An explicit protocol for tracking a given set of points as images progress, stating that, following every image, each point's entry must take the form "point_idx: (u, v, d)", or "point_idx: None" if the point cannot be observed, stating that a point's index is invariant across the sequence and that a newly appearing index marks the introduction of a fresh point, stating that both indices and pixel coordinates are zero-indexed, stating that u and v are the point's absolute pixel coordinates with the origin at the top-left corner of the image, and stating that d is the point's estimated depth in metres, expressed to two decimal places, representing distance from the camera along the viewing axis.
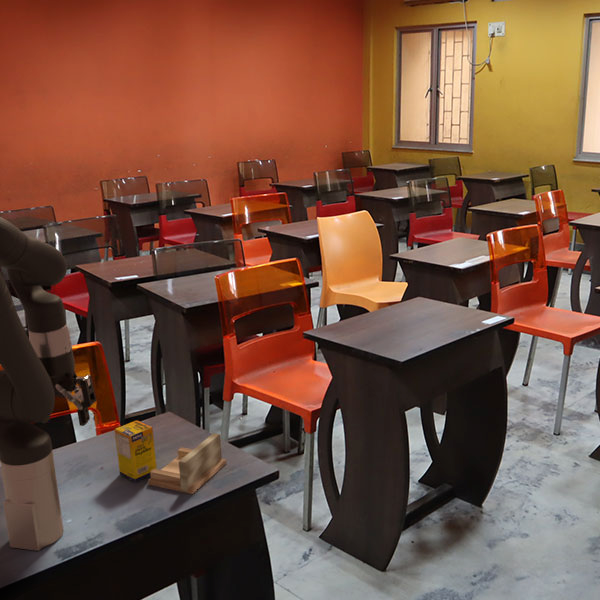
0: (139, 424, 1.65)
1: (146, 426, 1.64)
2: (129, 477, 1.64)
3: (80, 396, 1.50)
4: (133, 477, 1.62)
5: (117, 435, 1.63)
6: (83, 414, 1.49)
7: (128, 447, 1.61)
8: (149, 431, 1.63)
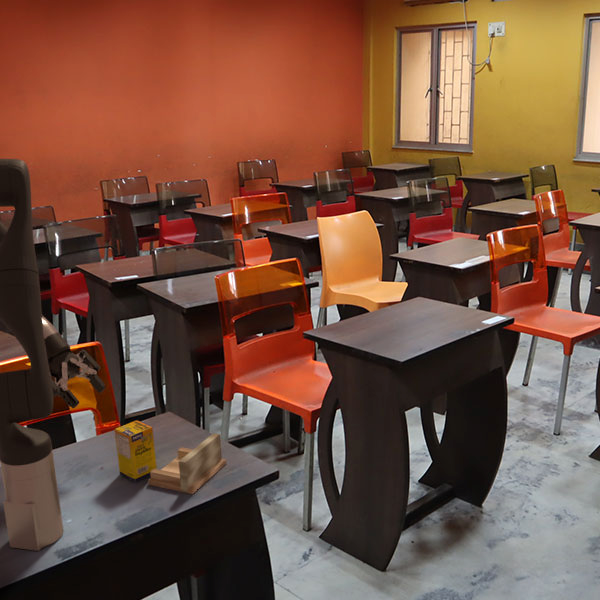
0: (139, 424, 1.65)
1: (146, 426, 1.64)
2: (129, 477, 1.64)
3: (84, 373, 1.71)
4: (133, 477, 1.62)
5: (117, 435, 1.63)
6: (99, 379, 1.71)
7: (128, 447, 1.61)
8: (149, 431, 1.63)
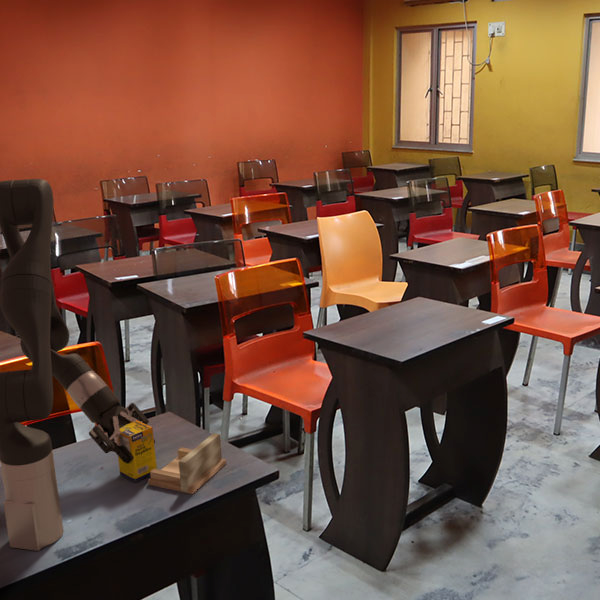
0: (139, 424, 1.65)
1: (146, 425, 1.64)
2: (129, 477, 1.64)
3: None
4: (133, 477, 1.62)
5: None
6: None
7: (128, 447, 1.61)
8: (149, 431, 1.63)
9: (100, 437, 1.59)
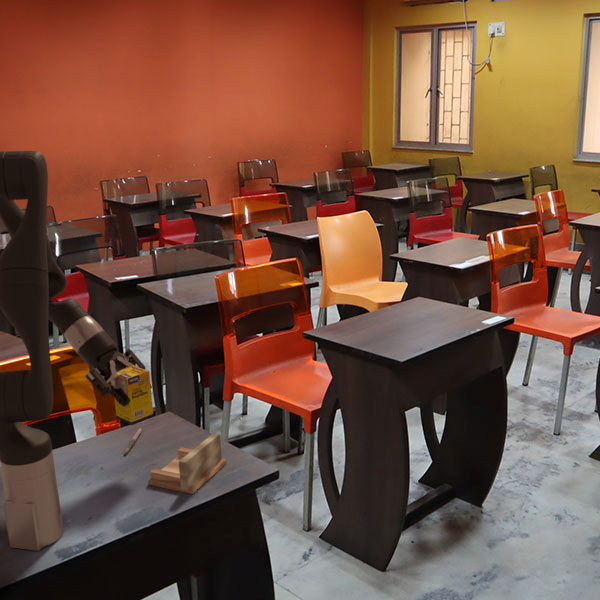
0: (136, 368, 1.66)
1: (143, 370, 1.65)
2: (126, 420, 1.65)
3: None
4: (130, 420, 1.64)
5: None
6: None
7: (124, 390, 1.62)
8: (146, 375, 1.64)
9: (97, 379, 1.60)
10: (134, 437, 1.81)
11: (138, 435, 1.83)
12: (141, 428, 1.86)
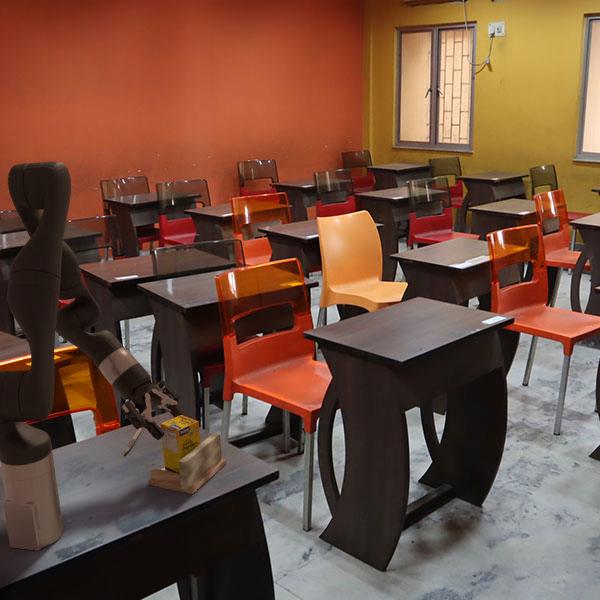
0: (184, 418, 1.64)
1: (192, 420, 1.64)
2: (175, 472, 1.63)
3: (164, 404, 1.68)
4: None
5: (163, 430, 1.62)
6: (179, 409, 1.68)
7: (175, 441, 1.60)
8: (195, 425, 1.63)
9: (132, 412, 1.58)
10: (134, 437, 1.81)
11: (138, 435, 1.83)
12: (141, 428, 1.86)
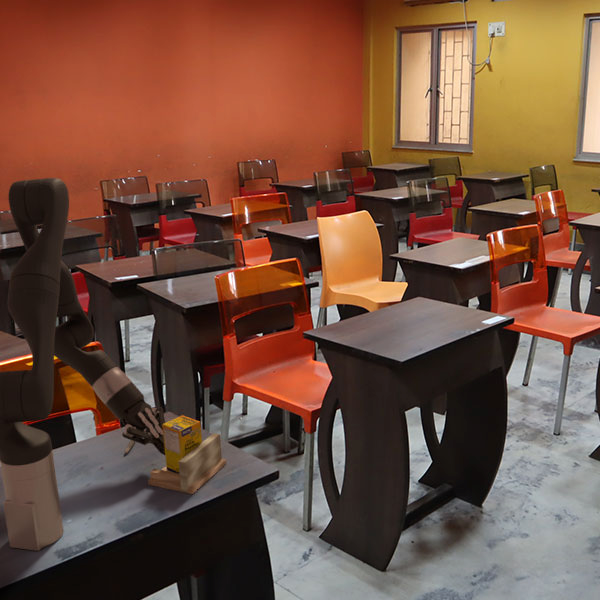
0: (186, 419, 1.64)
1: (194, 420, 1.63)
2: (178, 472, 1.63)
3: None
4: None
5: (165, 430, 1.62)
6: None
7: (177, 442, 1.60)
8: (197, 425, 1.62)
9: (137, 435, 1.62)
10: None
11: None
12: None
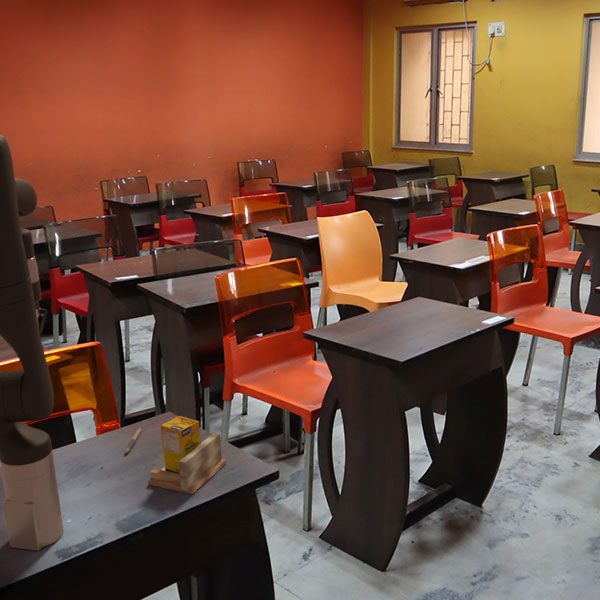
0: (184, 419, 1.64)
1: (192, 420, 1.64)
2: None
3: None
4: None
5: (164, 431, 1.62)
6: None
7: (177, 442, 1.60)
8: (196, 425, 1.63)
9: None
10: (134, 437, 1.81)
11: (138, 435, 1.83)
12: (140, 428, 1.86)
